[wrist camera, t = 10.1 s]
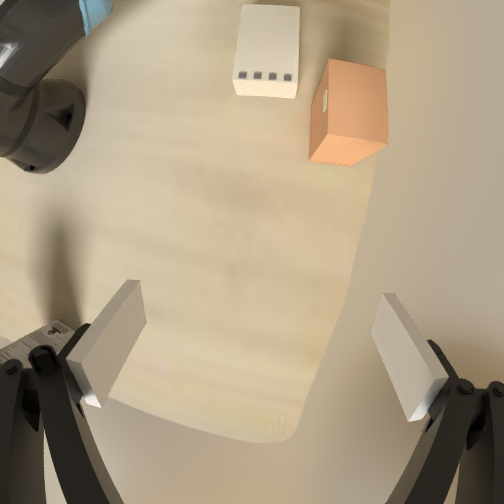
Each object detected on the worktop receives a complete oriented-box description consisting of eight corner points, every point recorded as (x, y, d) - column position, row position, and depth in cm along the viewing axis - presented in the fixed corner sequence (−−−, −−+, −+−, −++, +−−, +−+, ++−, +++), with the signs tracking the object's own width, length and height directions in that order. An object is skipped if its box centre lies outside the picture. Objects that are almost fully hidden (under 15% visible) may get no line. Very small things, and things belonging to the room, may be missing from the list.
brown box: (308, 160, 32) (326, 133, 20) (311, 105, 31) (327, 58, 19) (350, 166, 32) (388, 144, 20) (352, 111, 31) (385, 69, 19)
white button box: (236, 94, 32) (230, 78, 27) (244, 23, 30) (241, 2, 25) (295, 98, 31) (298, 82, 27) (298, 25, 30) (300, 5, 25)
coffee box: (80, 377, 39) (25, 428, 23) (53, 359, 39) (-5, 401, 23) (85, 335, 38) (17, 383, 22) (55, 316, 38) (-13, 354, 22)
